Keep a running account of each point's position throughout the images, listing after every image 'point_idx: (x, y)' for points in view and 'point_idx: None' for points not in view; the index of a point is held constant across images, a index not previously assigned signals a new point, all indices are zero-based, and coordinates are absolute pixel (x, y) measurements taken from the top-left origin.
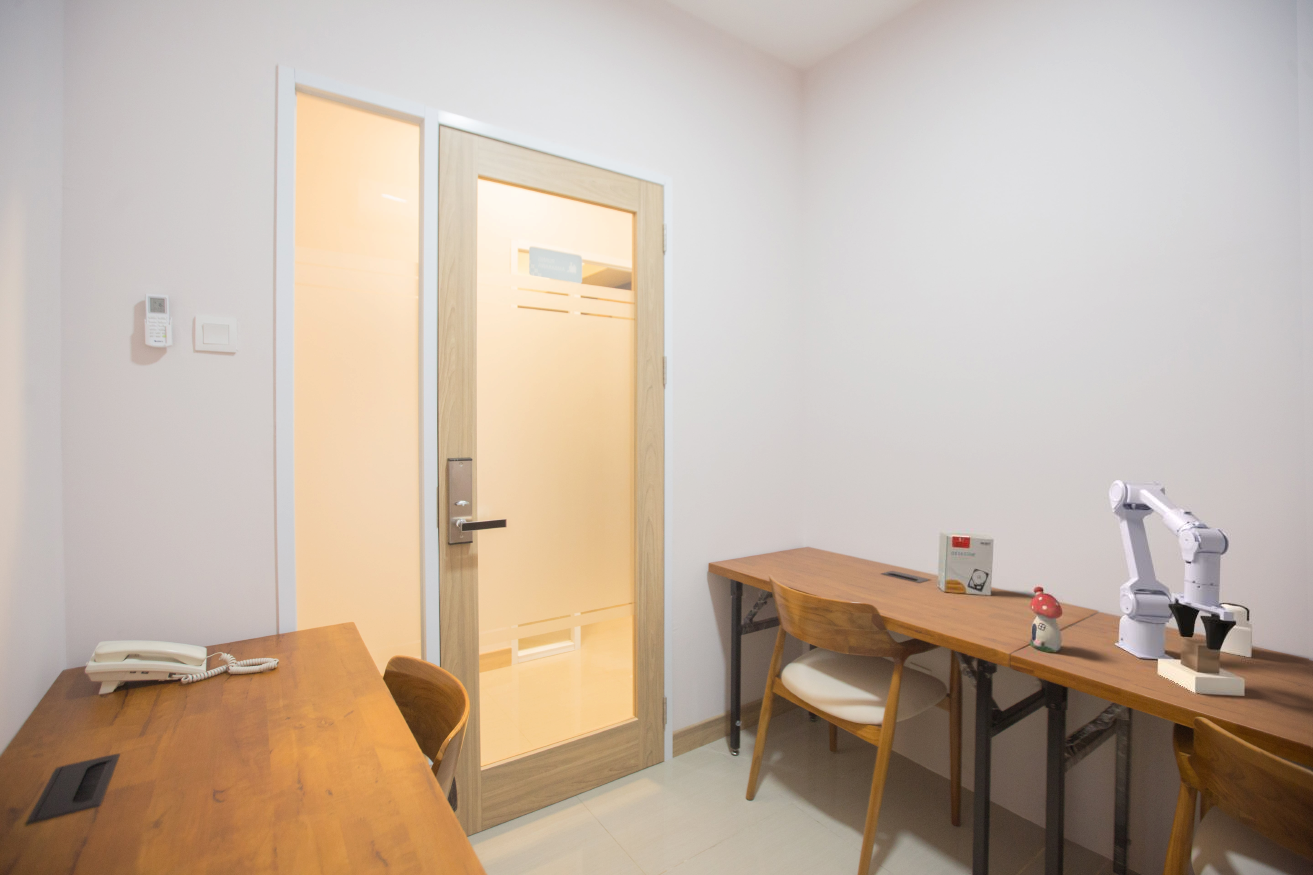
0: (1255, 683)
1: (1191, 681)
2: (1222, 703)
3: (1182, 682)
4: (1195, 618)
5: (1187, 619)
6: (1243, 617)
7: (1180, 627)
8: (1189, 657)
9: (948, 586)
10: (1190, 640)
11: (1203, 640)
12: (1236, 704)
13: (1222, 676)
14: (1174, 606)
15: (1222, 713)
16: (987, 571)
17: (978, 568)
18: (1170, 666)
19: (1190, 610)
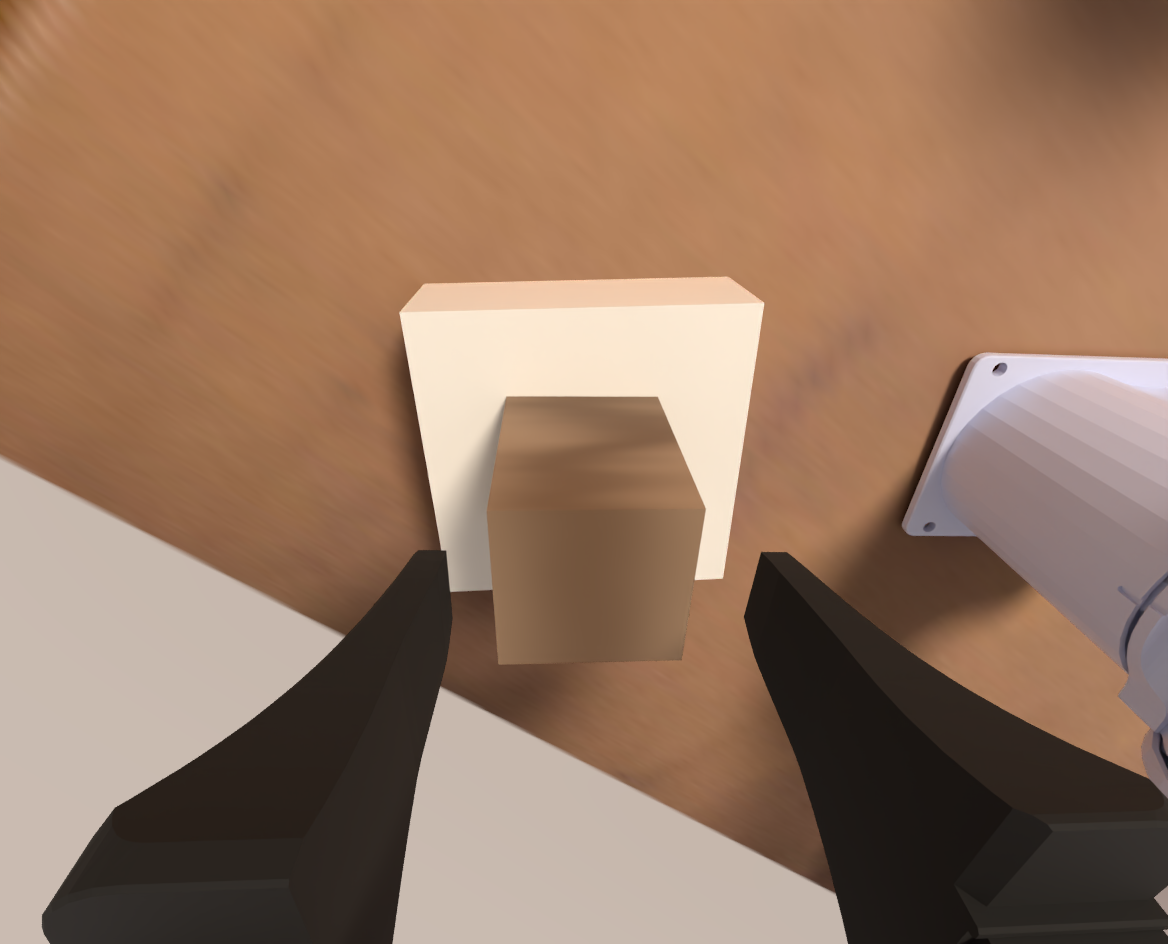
0: (623, 666)
1: (442, 298)
2: (294, 337)
3: (523, 288)
4: (820, 817)
5: (836, 745)
6: None
7: (808, 604)
8: (580, 431)
9: None
10: (626, 535)
11: (635, 637)
12: (310, 409)
13: (459, 502)
14: (1038, 832)
15: (93, 205)
16: None
17: None
18: (635, 301)
19: (890, 902)
